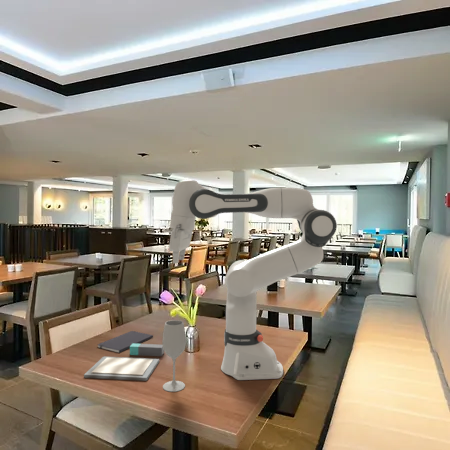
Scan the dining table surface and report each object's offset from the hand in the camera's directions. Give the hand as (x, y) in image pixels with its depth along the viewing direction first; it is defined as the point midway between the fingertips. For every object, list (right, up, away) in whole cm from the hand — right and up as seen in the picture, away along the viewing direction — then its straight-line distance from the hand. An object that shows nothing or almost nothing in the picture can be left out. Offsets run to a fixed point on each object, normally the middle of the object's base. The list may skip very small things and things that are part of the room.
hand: (178, 261), depth 135 cm
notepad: (-20, -39, -2) cm, 43 cm away
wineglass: (0, -40, -15) cm, 42 cm away
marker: (-14, -38, +12) cm, 43 cm away
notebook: (-26, -39, +26) cm, 53 cm away
